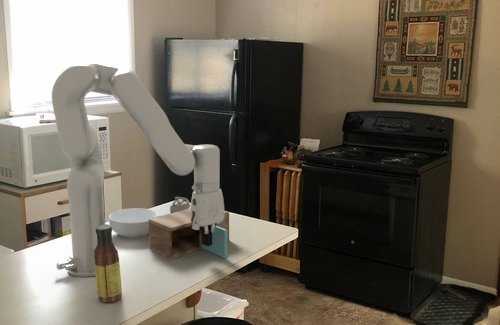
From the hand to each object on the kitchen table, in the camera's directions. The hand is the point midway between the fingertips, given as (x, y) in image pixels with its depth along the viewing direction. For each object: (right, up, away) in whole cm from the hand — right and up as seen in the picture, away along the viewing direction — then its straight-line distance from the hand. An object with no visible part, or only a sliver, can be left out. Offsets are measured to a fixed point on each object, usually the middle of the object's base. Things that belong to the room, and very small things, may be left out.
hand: (206, 244), depth 172 cm
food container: (-11, +1, +31) cm, 33 cm away
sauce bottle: (-24, -11, -24) cm, 36 cm away
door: (+2, -3, +7) cm, 8 cm away
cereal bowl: (-27, 0, +24) cm, 36 cm away
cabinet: (-7, -2, +15) cm, 17 cm away
